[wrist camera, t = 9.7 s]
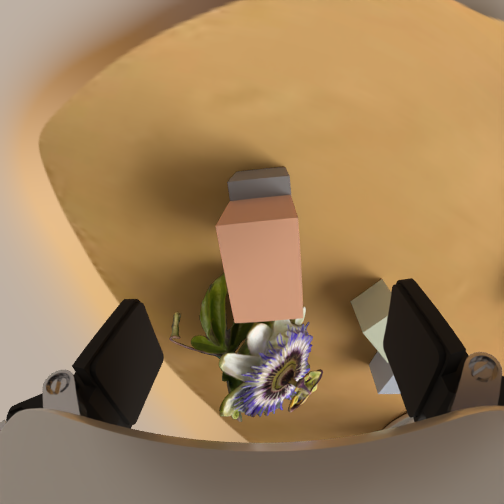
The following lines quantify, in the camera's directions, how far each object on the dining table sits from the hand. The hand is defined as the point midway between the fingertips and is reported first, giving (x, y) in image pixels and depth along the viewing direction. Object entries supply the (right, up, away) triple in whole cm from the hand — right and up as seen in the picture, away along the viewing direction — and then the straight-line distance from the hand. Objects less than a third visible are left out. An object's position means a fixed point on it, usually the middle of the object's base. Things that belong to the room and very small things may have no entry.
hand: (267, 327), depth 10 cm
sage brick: (+13, -3, +17) cm, 22 cm away
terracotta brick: (0, +3, +9) cm, 10 cm away
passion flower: (0, -5, +19) cm, 20 cm away
